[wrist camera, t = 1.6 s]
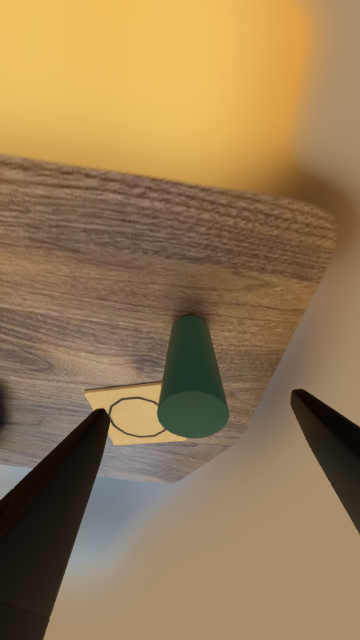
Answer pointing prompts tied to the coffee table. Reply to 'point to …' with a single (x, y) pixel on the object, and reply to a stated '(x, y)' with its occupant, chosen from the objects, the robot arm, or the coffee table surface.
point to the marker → (191, 382)
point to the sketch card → (132, 413)
